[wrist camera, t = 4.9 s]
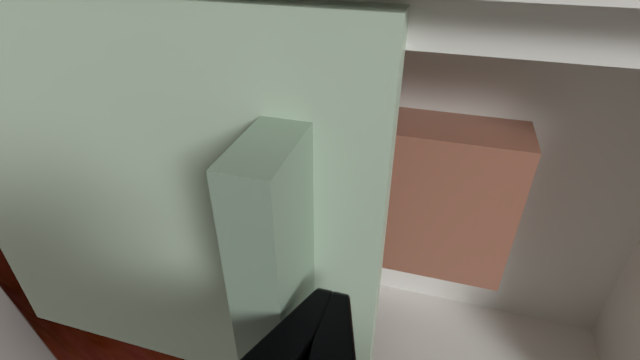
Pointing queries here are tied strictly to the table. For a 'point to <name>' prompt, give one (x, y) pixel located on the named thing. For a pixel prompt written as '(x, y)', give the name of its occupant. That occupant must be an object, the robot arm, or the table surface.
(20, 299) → the table surface
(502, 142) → the box
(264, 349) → the robot arm
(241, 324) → the lid
